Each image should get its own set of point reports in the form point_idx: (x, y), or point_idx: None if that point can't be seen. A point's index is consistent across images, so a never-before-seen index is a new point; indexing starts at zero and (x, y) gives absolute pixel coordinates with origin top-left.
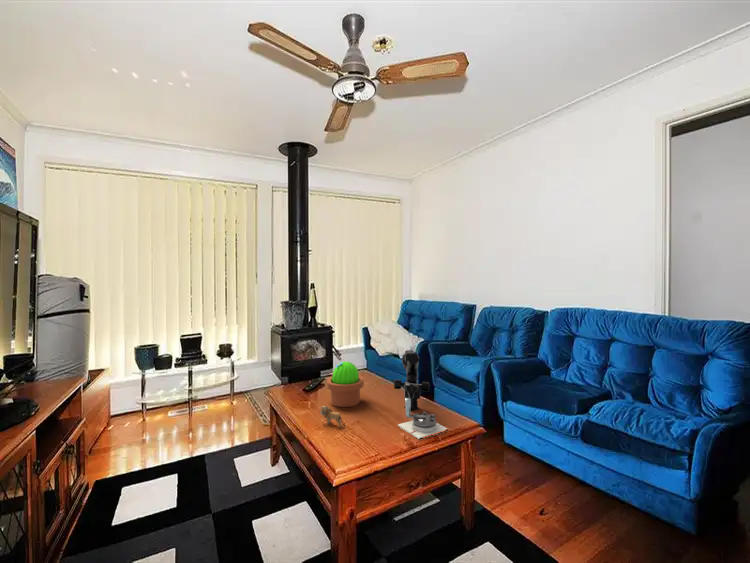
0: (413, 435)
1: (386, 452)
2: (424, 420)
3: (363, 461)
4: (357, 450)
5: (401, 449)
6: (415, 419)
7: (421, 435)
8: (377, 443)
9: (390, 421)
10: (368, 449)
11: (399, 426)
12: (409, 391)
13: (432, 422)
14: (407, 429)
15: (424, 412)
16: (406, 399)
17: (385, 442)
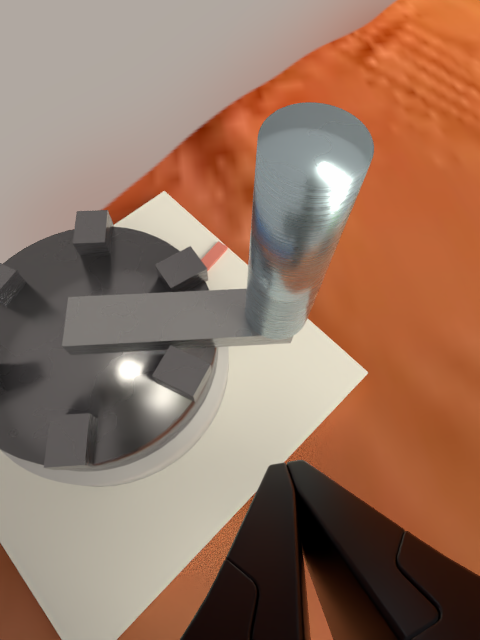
0: (202, 228)
1: (326, 72)
2: (86, 221)
3: (401, 10)
4: (475, 67)
5: (256, 102)
6: (184, 255)
7: (142, 225)
8: (408, 133)
9: (470, 477)
10: (427, 80)
11: (345, 356)
12: (413, 573)
13: (10, 263)
14: None
15: (69, 439)
16: (335, 111)
17: None
